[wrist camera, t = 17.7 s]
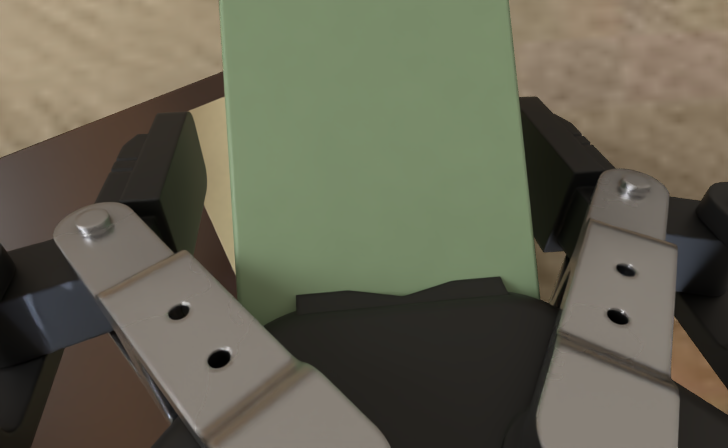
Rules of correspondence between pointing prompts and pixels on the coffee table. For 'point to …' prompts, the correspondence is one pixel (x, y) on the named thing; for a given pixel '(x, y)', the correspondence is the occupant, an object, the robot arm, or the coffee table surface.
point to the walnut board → (81, 188)
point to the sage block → (373, 148)
